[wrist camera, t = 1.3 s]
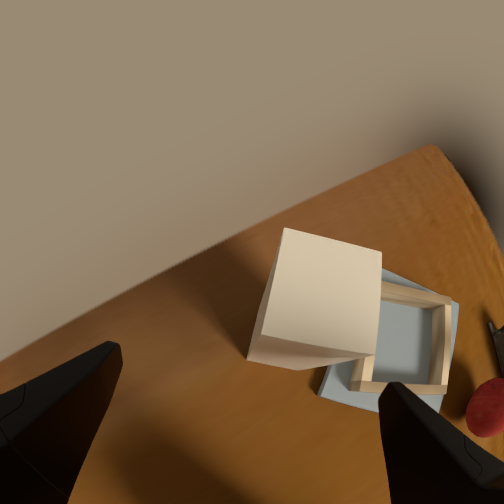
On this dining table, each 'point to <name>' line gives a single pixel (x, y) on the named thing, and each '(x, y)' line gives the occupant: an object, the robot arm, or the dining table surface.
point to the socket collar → (438, 343)
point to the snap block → (318, 304)
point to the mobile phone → (498, 344)
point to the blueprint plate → (393, 352)
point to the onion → (486, 409)
